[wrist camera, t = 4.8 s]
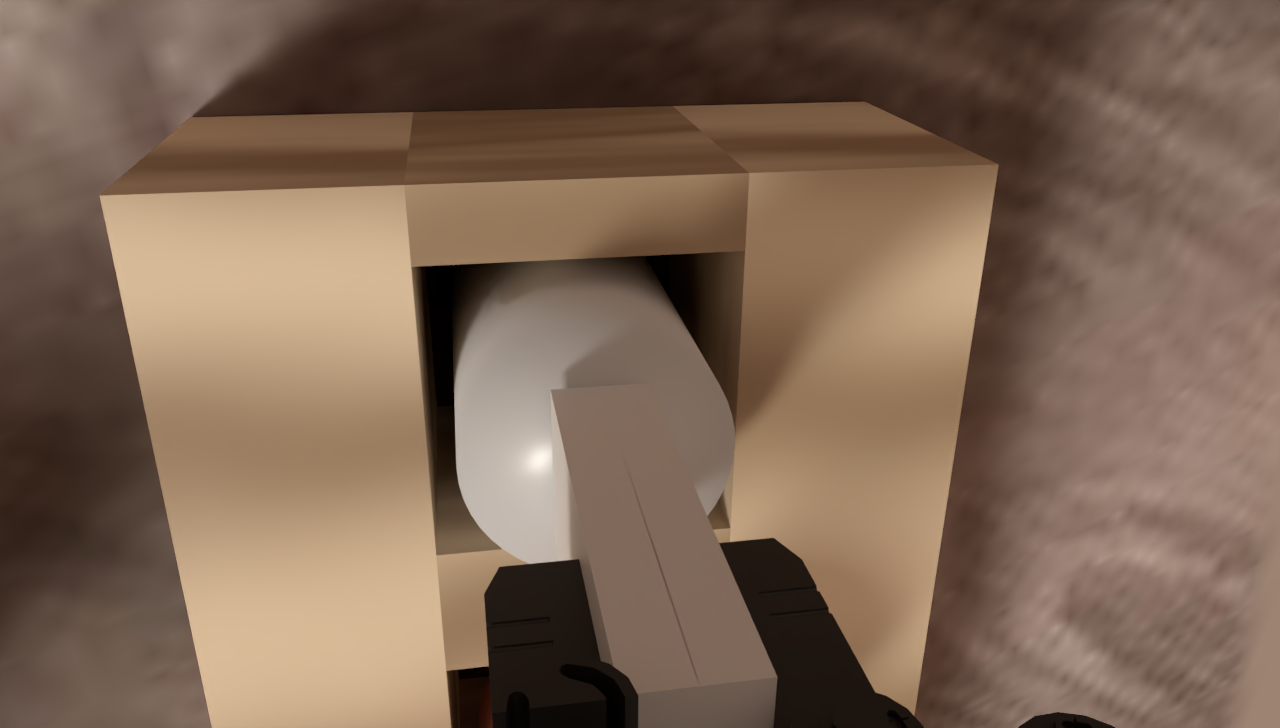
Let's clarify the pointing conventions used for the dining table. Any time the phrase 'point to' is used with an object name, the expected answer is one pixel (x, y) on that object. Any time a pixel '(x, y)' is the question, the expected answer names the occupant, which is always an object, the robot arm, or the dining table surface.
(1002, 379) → the dining table surface
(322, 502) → the maple block
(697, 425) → the grey plug
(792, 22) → the dining table surface
